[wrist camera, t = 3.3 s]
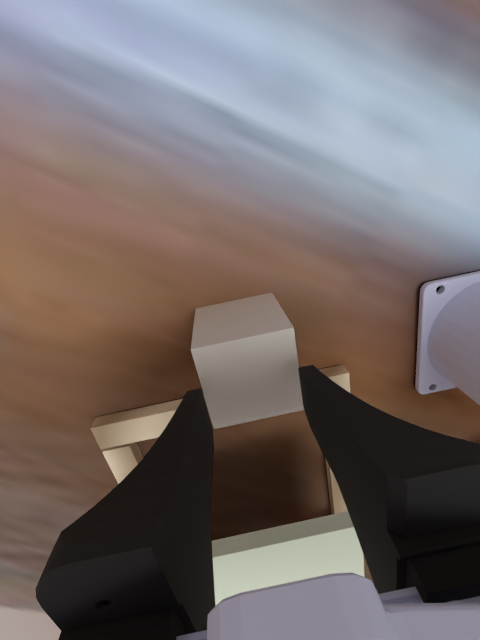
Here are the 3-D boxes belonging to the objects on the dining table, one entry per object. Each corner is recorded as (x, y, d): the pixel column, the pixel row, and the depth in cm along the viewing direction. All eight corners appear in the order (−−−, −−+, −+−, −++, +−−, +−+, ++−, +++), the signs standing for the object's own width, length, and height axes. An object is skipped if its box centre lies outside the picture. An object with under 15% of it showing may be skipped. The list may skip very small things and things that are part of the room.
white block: (272, 291, 18) (293, 327, 13) (282, 358, 19) (304, 409, 15) (195, 308, 18) (190, 349, 13) (213, 372, 19) (214, 429, 15)
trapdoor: (349, 497, 16) (368, 540, 14) (357, 621, 22) (373, 666, 20) (130, 544, 16) (119, 594, 14) (192, 658, 22) (190, 706, 20)
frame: (342, 364, 20) (408, 450, 13) (354, 550, 28) (399, 661, 21) (95, 417, 20) (38, 530, 13) (179, 588, 28) (169, 711, 21)
